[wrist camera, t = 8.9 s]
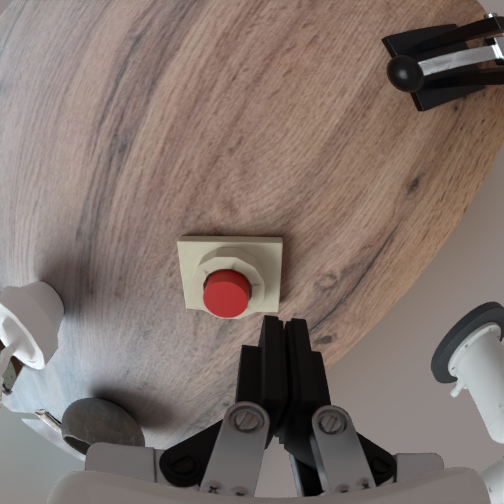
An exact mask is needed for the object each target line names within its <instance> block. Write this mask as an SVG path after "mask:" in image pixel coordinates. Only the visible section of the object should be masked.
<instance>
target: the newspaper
mask: <svg viewBox="0 0 504 504" xmlns="http://www.w3.org/2000/svg"><path fill="white" fill-rule="evenodd" d="M35 414H36V415H37V416H38V417H40V418H41V419H42V420H43V421H44V422H46V423H47V424H48V425H49V426H50V427H52V428H53V429H54V430H56V431H57V432H58V433H59V434H61V435H62V433H61V425H60V424H59V423H58V422H56V421H55V420H54V419H53V418H52V417H51V416H50V415H49V414H48V413H47V412H46V411H45V410H42V411H40V410H36V411H35Z"/></svg>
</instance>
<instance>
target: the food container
mask: <svg viewBox="0 0 504 504" xmlns="http://www.w3.org/2000/svg"><path fill="white" fill-rule="evenodd" d="M4 348H6V346H5V345H4V344H3V342H2V341H1V339H0V354H1V352H2V350H3V349H4ZM22 368H23V365H22V364H21V362H20V361H19V359H18V358H17V357H16V356H14V355H12V356H11V358H10V360H9V363H8V367H7V369H6V371H5V372H4V374H3V375H2V377H3V379H4V381H3V384H2V392H3V393H4V394H6V395H7V396H8V395H10V394H11V393H12V392H13V391H11V389H12V387H13V385H14V383H15V381H16V379H17V377H18V375H19V373H20V372H21V370H22Z"/></svg>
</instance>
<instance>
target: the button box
mask: <svg viewBox="0 0 504 504" xmlns="http://www.w3.org/2000/svg"><path fill="white" fill-rule="evenodd" d="M177 244H178V253H179V261H180V268H181V276H182V283H183V290H184V296H185V302H186V308H187V309H202V310H204V311H206V312H208V313H210V314H212V313H211V312H210V311H209V310H208V309H207V308H206V306H205V305H204V302H203V294H204V291H205V288H206V285H207V282H208V280H209V278H210V277H211V275H213V274H214V273H215V272H218V271H221V270H232V271H236V272H238V273H240V274H241V275H242V276H243V277H244V278H245V279H246V280H247V282H248V284H249V297H248V305H247V308H246V310H245V311H244V312H243V313H242V314H240V315H239V316H236V317H233V318H224V319H240V318H243V317H245V316H247V315H250V314H252V313H254V312H278V311H279V298H280V283H281V266H282V247H283V242H282V237H244V236H181V237H180V238H179V240H178V241H177ZM212 315H214V314H212ZM214 316H216V315H214ZM216 317H218V316H216ZM218 318H222V317H218Z"/></svg>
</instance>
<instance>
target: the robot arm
mask: <svg viewBox="0 0 504 504" xmlns="http://www.w3.org/2000/svg"><path fill="white" fill-rule="evenodd" d="M500 335H501V329H500V327H499V325H498V324H497V323H495V322H488V323H486V324H483V325H482V326H480V327H478V328H477V329H475V330H474V331H473V332H472V333H470V334H469V335H468V336H467V337H466V338H465V339H464V340H463V341H462V342H461V343H460V345H459V346H458V347H457V348H456V350H455V351H454V353H453V354H452V356H451V358H450V360H449V363H448V371H449V372H450V374H451V375H452V376H454V377H457V378H458V380H457V384H456V385H455V386H454V387H453V389H452V390H451V392H450V394H451V395H452V396H453V397H456V396H457V395H458V394H459V393H460V391H461V390H462V388H464V389H467V388H468V389H469V392H470V394H471V396H472V398H473V400H474V401H475V404H476V406H477V407H478V410H479V412H480V414H481V416H482V418H483V420H484V423H485V425H486V427H487V429H488V432H489V434H490V436H491V438H492V439H493V440H494V441H496V442H499V443H502V444H504V346H503V345H502V343H501V342H500V340H499V339H500ZM273 435H275V437H279V444H284V449H285V450H287V451H288V452H289V457H290V462H291V467H292V471H293V476H294V480H295V485H296V490H297V495H298V497H294V498H259V497H254V494H255V489H256V485H257V481H258V477H259V472H260V468H261V463H262V458H263V454H264V450H265V449H267V447H268V445H269V443H270V442H271V440H272V438H273ZM46 504H504V456H503V457H502V458H501V459H499V460H498V461H497V462H495V463H494V464H492V465H491V466H490V467H488V468H487V469H485V470H484V471H482V472H481V473H480V474H479V473H478V472H477V471H476V470H474V469H470V468H466V467H451V468H445V469H444V463H443V459H442V458H441V456H439V455H438V454H436V453H406V454H405V453H397V454H396V455H391V454H390V453H389V452H387V451H385V450H384V449H382V448H380V447H379V446H378V445H376V444H374V443H373V442H371V441H370V440H368V439H367V438H365V437H364V436H362V435H361V434H359V433H358V432H356V430H355V428H354V425H353V423H352V420H351V418H350V416H349V414H348V413H347V412H346V411H345V410H344V409H342V408H340V407H337V406H333V405H331V401H330V395H329V390H328V385H327V379H326V374H325V369H324V364H323V359H322V355H321V353H320V352H317V351H311V345H310V340H309V334H308V328H307V323H306V320H305V319H296V318H292V319H291V321H286V324H285V327H284V326H283V321H281V320H279V319H278V317H277V316H268V315H264V319H263V324H262V329H261V334H260V339H259V344H258V347H257V346H249V345H242V348H241V355H240V362H239V370H238V379H237V389H236V398H235V404H233V405H232V406H231V407H229V408H228V409H227V411H226V413H225V416H224V419H222V420H220V421H219V422H217V423H215V424H214V425H212V426H210V427H208V428H207V429H205V430H203V431H201V432H199V433H197V434H196V435H194V436H192V437H190V438H188V439H186V440H184V441H182V442H180V443H179V444H177V445H175V446H173V447H171V448H169V449H167V450H159V449H154V448H153V447H139V446H128V445H120V444H112V443H105V442H97V443H95V444H92V445H91V446H90V447H89V448H88V450H87V453H86V462H85V471H74V472H70V473H67V474H65V475H64V476H62V477H61V478H60V479H59V480H58V481H57V482H56V484H55V486H54V487H53V489H52V491H51V493H50V495H49V497H48V499H47V502H46Z"/></svg>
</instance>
